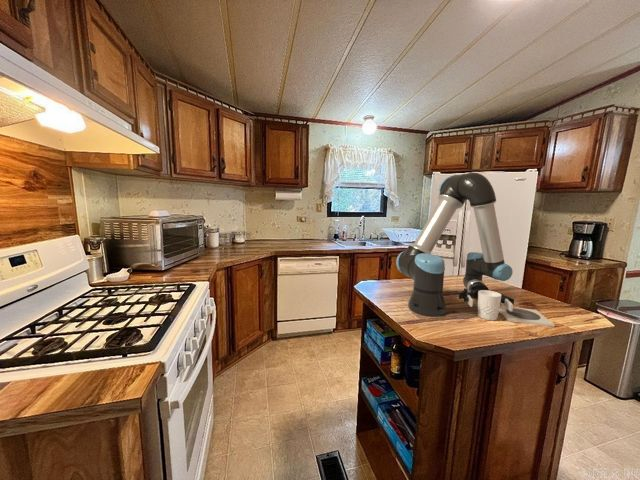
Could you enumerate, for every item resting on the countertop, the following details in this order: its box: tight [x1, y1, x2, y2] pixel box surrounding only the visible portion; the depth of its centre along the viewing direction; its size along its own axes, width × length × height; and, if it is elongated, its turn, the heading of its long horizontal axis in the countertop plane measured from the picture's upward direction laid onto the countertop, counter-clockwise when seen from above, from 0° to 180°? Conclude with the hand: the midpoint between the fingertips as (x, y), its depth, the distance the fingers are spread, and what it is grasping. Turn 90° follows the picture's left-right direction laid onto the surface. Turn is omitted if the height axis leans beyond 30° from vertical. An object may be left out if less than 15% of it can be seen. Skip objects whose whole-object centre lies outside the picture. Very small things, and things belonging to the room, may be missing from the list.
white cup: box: [477, 290, 502, 321], centre depth 106 cm, size 8×8×10 cm
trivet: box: [499, 305, 555, 327], centre depth 108 cm, size 15×15×1 cm
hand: (491, 305), depth 103 cm, fingers open, 13 cm apart
